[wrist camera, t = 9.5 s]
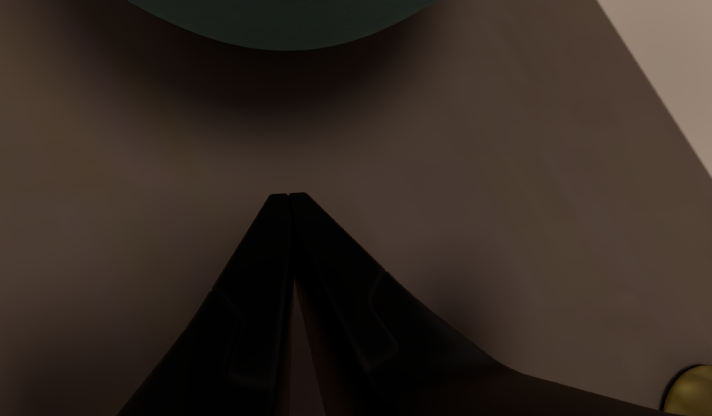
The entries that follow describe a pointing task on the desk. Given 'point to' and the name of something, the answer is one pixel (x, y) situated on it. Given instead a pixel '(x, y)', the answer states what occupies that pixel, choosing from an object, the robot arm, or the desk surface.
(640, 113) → the desk surface
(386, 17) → the teal bowl
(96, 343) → the desk surface
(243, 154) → the desk surface
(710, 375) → the vase
